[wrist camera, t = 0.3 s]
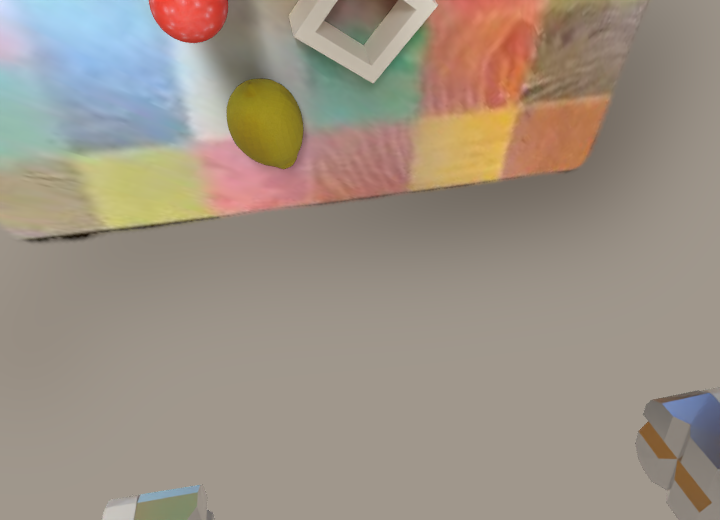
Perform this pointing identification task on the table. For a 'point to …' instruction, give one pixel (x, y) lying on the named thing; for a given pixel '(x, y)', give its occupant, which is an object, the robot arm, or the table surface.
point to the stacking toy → (190, 18)
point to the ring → (348, 52)
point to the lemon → (265, 122)
